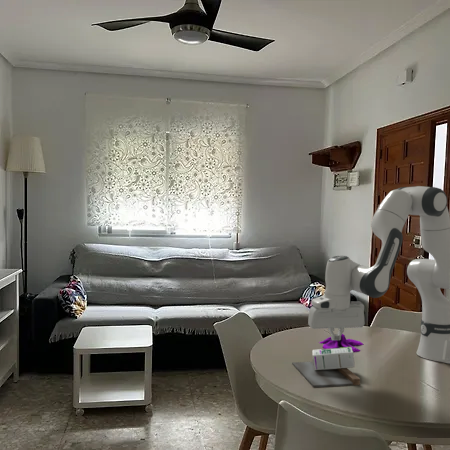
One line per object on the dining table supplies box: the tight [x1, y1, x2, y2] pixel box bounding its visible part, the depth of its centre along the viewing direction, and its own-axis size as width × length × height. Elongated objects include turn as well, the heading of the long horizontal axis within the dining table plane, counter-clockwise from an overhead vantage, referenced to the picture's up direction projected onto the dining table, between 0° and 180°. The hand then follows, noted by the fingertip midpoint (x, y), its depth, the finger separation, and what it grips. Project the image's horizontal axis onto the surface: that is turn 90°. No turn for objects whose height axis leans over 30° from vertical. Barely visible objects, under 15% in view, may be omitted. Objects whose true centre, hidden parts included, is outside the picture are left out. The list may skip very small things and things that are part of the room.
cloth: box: [318, 333, 364, 353], centre depth 196 cm, size 22×19×6 cm
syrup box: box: [311, 347, 356, 370], centre depth 165 cm, size 6×6×14 cm
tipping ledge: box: [292, 361, 361, 388], centre depth 162 cm, size 16×22×2 cm
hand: (335, 339), depth 162 cm, fingers closed
